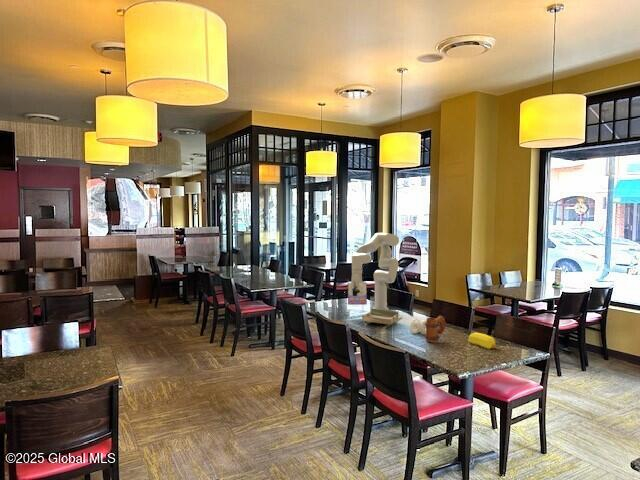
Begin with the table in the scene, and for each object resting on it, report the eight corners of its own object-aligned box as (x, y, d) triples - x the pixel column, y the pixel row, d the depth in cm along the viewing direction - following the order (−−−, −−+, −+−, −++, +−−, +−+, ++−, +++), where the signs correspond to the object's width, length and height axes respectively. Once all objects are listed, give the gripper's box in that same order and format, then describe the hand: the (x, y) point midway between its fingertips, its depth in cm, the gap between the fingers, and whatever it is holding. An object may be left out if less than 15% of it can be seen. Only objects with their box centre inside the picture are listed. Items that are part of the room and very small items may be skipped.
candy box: (366, 303, 327) (366, 281, 326) (366, 304, 321) (366, 282, 320) (348, 302, 329) (347, 281, 327) (347, 304, 323) (347, 282, 321)
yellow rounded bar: (473, 340, 268) (464, 342, 264) (473, 329, 268) (465, 331, 264) (499, 348, 253) (490, 350, 249) (499, 337, 252) (490, 339, 248)
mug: (430, 344, 259) (430, 319, 258) (421, 341, 266) (421, 316, 265) (448, 341, 266) (449, 316, 265) (439, 337, 273) (440, 314, 272)
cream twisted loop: (406, 334, 280) (407, 320, 280) (412, 330, 291) (412, 316, 290) (424, 336, 275) (424, 322, 275) (429, 332, 286) (429, 318, 285)
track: (381, 315, 331) (381, 314, 331) (401, 317, 324) (401, 316, 324) (363, 325, 301) (363, 324, 301) (385, 328, 294) (385, 327, 294)
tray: (371, 317, 319) (371, 308, 319) (398, 321, 310) (398, 311, 309) (362, 322, 304) (362, 313, 304) (389, 326, 295) (389, 316, 294)
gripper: (357, 269, 332) (357, 292, 334) (347, 272, 317) (347, 296, 319) (366, 269, 328) (366, 293, 330) (356, 273, 313) (356, 297, 315)
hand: (357, 294), depth 324 cm, fingers closed on candy box, 7 cm apart
